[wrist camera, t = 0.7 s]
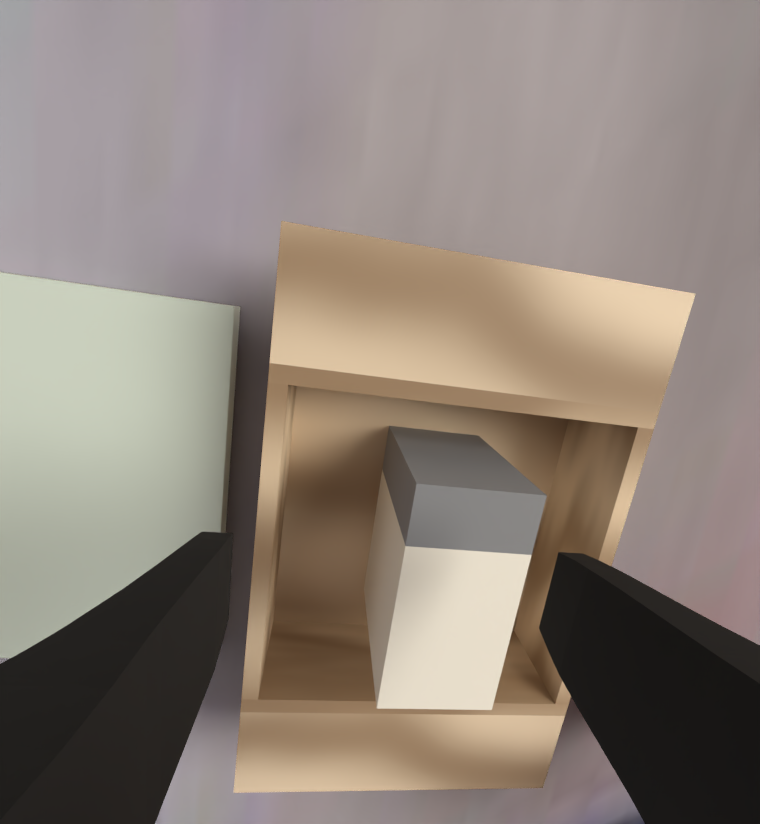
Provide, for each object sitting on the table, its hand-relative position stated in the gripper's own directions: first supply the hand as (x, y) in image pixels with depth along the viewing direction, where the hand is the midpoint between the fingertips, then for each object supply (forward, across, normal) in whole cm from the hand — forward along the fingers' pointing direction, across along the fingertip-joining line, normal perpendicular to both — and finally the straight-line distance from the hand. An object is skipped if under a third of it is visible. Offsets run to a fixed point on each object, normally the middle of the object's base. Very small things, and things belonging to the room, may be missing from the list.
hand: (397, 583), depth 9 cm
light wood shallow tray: (+10, -3, +3) cm, 10 cm away
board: (+10, +11, +3) cm, 15 cm away
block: (+9, -3, +3) cm, 10 cm away
